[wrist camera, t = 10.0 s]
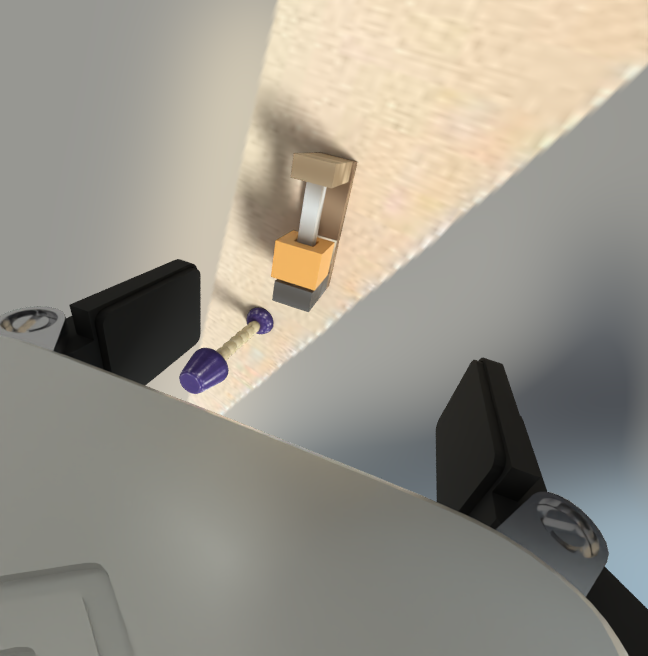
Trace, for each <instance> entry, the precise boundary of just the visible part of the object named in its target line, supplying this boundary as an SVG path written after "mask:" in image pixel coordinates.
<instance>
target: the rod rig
mask: <svg viewBox="0 0 648 656" xmlns="http://www.w3.org/2000/svg"><path fill="white" fill-rule="evenodd" d="M356 166H357V162H356V161H352V160H348V159H344V158H340V157H336V156H332V155H328V154H324V153H320V152H316V153H294V155H293V163H292V170H291V178H294V179H298V180H302V181H306V189H305V195H304V201H303V207H302V214H301V220H300V226H299V232H298V239H297V242H298V243H302V244H305V245H309V246H312V247H314V246H315V245H316V240H317V237H318V238H322V239H325V240H329V241H332V242H335V244H334V249H333V253H332V258H331V262H330V267H329V271H328V275H327V276H326V278H325V279H324V280H323V281H322V282H321V284H320V285H319V286H318V287H317V288H316V290H315V291H314V290H311V289H308V288H305V287H302V286H299V285H296V284H292V283H289V282H286V281H283V280H280V279H277V280H276V281H275V284H274V291H273V299H272V300H273V301H276V302H279V303H282V304H285V305H288V306H291V307H294V308H297V309H300V310H303V311H306V312H309V311H310V310H311V308H312V307H313V306H314V304H315V303H316V302H317V301H318V299H319V298H320V297H321V295H322V294H323V293H324V291H325V290H326V289H327V287H328V286H329V283H330V279H331V275H332V270H333V266H334V262H335V257H336V253H337V249H338V244H339V240H340V236H341V231H342V227H343V223H344V218H345V214H346V209H347V205H348V201H349V196H350V192H351V188H352V183H353V179H354V175H355V170H356Z"/></svg>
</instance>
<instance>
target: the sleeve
mask: <svg viewBox="0 0 648 656" xmlns="http://www.w3.org/2000/svg"><path fill="white" fill-rule="evenodd" d="M297 239H298V231H295V230H293V231H291V232H289V233H288V234H286V235H284V236H282V237H281V238H279V239H277V240H276V241H275V249H274V257H273V265H272V273H271V277H274V278H277V279H280V280H283V281H286V282H289V283H292V284H296V285H299V286H302V287H305V288H308V289H311V290H314V291H315V290H316V288H317V287H318V286H319V285H320V284H321V282H322V281H323V280H324V279H325V278H326V276H327V275H328V271H329V267H330V262H331V258H332V253H333V249H334V244H335V242H332V241H329V240H325V239H322V238H318V237H317V240H316V245H315V246H314V247H312V246H309V245H305V244H302V243H298V242H297Z"/></svg>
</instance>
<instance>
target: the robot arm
mask: <svg viewBox="0 0 648 656" xmlns="http://www.w3.org/2000/svg"><path fill="white" fill-rule="evenodd" d="M70 309H71V313H72V316H71V317H68V318H66V317H65V314H64V313H63V312H62V311H60V310H58V309H56V308H51V307H41V306H37V307H26V308H21V309H16V310H13V311H10V312H7V313H5V314H3V315H1V316H0V656H648V609H647V608H646V607H645V606H644V605H643V604H642V603H641V602H640V601H639V600H638V599H637V598H636V597H635V596H634V595H633V594H632V593H631V592H630V591H629V590H628V589H627V588H625V586H624V585H623V584H622V583H620V582H619V580H618V579H617V578H616V577H615V576H614V575H613V574H612V573H611V572H610V571H608V569H607V568H606V567H605V564H606V563H607V560H608V555H609V552H608V548H607V543H606V541H605V539H604V538H603V535H602V533H601V532H600V530H599V529H598V528H597V526H596V525H595V524H594V523H593V521H592V520H591V519H590V518H589V517H588V516H587V515H586V514H585V513H584V512H583V511H582V510H581V509H580V508H578V507H577V506H576V505H574V504H573V503H572V502H570V501H569V500H567V499H565V498H563V497H561V496H559V495H557V494H554V493H551V492H547V489H546V487H545V484H544V481H543V478H542V475H541V472H540V469H539V466H538V463H537V460H536V457H535V454H534V451H533V448H532V446H531V442H530V440H529V436H528V433H527V430H526V428H525V424H524V421H523V419H522V417H521V416H520V414H519V411H518V408H517V405H516V402H515V399H514V396H513V393H512V390H511V387H510V384H509V381H508V378H507V375H506V372H505V370H504V366H503V364H501V363H497V362H495V361H492V360H488V359H486V358H481V359H480V360H479V361H477V360H473V361H472V362H471V363H470V365H469V367H468V369H467V371H466V372H465V374H464V376H463V378H462V379H461V381H460V383H459V385H458V386H457V388H456V390H455V392H454V394H453V395H452V397H451V399H450V401H449V403H448V404H447V406H446V408H445V410H444V411H443V413H442V415H441V417H440V418H439V420H438V423H437V427H436V473H437V476H436V478H437V502H435V501H433V500H431V499H428V498H426V497H424V496H422V495H419V494H417V493H414V492H412V491H409V490H407V489H404V488H402V487H399V486H397V485H394V484H392V483H389V482H387V481H385V480H382V479H380V478H378V477H375V476H373V475H370V474H368V473H365V472H363V471H360V470H358V469H355V468H353V467H350V466H348V465H345V464H343V463H340V462H338V461H335V460H332V459H330V458H328V457H325V456H323V455H320V454H318V453H315V452H313V451H310V450H307V449H305V448H303V447H300V446H298V445H295V444H293V443H290V442H287V441H285V440H283V439H280V438H278V437H275V436H272V435H270V434H267V433H265V432H262V431H260V430H257V429H255V428H252V427H250V426H247V425H244V424H242V423H240V422H237V421H234V420H232V419H229V418H227V417H224V416H222V415H219V414H217V413H214V412H212V411H209V410H206V409H204V408H201V407H199V406H196V405H194V404H191V403H189V402H186V401H183V400H181V399H178V398H176V397H173V396H171V395H168V394H165V393H163V392H160V391H158V390H155V389H152V388H150V387H147V386H145V385H146V384H147V383H149V382H150V381H151V380H153V379H154V378H155V377H156V376H157V375H159V374H160V373H161V372H162V371H164V370H165V369H166V368H167V367H168V366H170V365H171V364H172V363H173V362H175V361H176V360H177V359H178V358H179V357H180V356H182V355H183V354H184V353H186V352H187V351H188V350H189V349H190V348H192V347H193V346H194V345H195V344H196V343H197V342H198V340H199V338H200V272H199V270H197V268H196V266H195V265H194V264H192V263H189V262H185V261H182V260H179V259H177V260H174V261H172V262H169V263H167V264H165V265H162V266H160V267H157V268H155V269H153V270H151V271H148V272H146V273H143V274H141V275H139V276H136V277H134V278H131V279H129V280H127V281H124V282H122V283H120V284H117V285H115V286H113V287H110V288H108V289H106V290H103V291H101V292H99V293H96V294H94V295H92V296H89V297H87V298H85V299H82V300H80V301H77V302H75V303H73V304H71V305H70Z"/></svg>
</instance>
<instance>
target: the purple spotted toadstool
mask: <svg viewBox="0 0 648 656" xmlns="http://www.w3.org/2000/svg"><path fill="white" fill-rule="evenodd" d="M272 328H273V318H272V316H271V314H270V313H269V312H268V311H266V310H265V309H263V308H253V309H252V310H250V312H249V313H248V315H247V326H246V327H244V328H243V329H242V330H241V331H239V332H238V333H237V334H236V335H235V336H233V337H232V338H231V339H230V340H229V341H228V342H226V343H225V344H224V345H223V346H222V347H221V348H219V349H218V350H217V351H215V350H213V349H210V348H201V349H199V350H197V351H196V352H195V353H194V354H193V356H192V357H191V358H190V360H189V361H188V363H187V364H186V366H185V367H184V369H183V370H182V372H181V374H180V377H179V379H180V383H181V385H182V387H183V388H184V389H185V390H187V391H188V392H190V393H193V394H198V393H201V392H203V391H205V390H207V389H209V388H211V387H213V386H215V385H216V384H218V383H220V382H222V381H223V380H224V379H225V378H226V377H227V375H228V365H227V363H226V360H228V359H229V357H230V356H231V355H233V354H234V353H235V352H236V350H237V349H239V348H241V346H242V345H243V344H244V343H246V342H247V341H248V339H250V338H251V337H252V336H253V335H254V334H255V333H257V334H265V333H268V332H269V331H271V329H272Z"/></svg>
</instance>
